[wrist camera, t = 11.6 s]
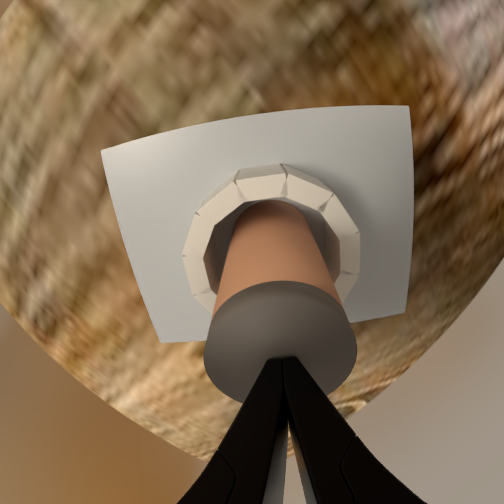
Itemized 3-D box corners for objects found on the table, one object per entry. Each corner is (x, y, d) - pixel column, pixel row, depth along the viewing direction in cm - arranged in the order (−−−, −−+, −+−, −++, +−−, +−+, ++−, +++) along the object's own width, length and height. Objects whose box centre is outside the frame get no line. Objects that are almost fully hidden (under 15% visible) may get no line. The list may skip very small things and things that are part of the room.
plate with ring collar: (402, 106, 14) (441, 104, 10) (401, 306, 20) (424, 343, 16) (106, 149, 16) (67, 158, 12) (163, 336, 21) (147, 376, 18)
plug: (305, 194, 16) (360, 288, 7) (312, 266, 18) (352, 398, 9) (226, 205, 16) (184, 310, 7) (240, 275, 18) (222, 412, 9)
